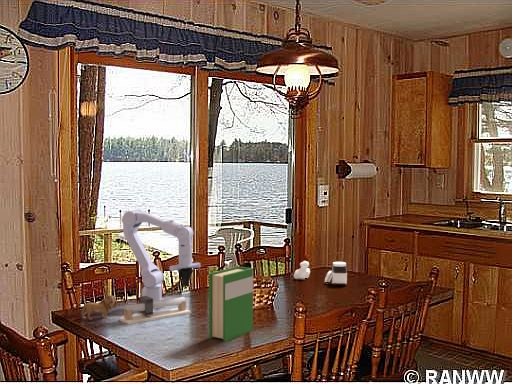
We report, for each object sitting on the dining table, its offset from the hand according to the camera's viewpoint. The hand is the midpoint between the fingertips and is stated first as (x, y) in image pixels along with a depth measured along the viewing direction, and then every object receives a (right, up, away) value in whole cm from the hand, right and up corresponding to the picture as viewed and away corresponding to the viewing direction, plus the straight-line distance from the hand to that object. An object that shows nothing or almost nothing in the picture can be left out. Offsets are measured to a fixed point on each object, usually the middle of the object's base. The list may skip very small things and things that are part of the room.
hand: (185, 285), depth 264 cm
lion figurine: (-34, -11, -15) cm, 39 cm away
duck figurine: (+57, -7, +69) cm, 90 cm away
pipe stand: (-11, -11, -13) cm, 20 cm away
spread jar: (+73, -8, +55) cm, 92 cm away
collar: (-14, -9, -15) cm, 23 cm away
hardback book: (+21, -13, -37) cm, 45 cm away
